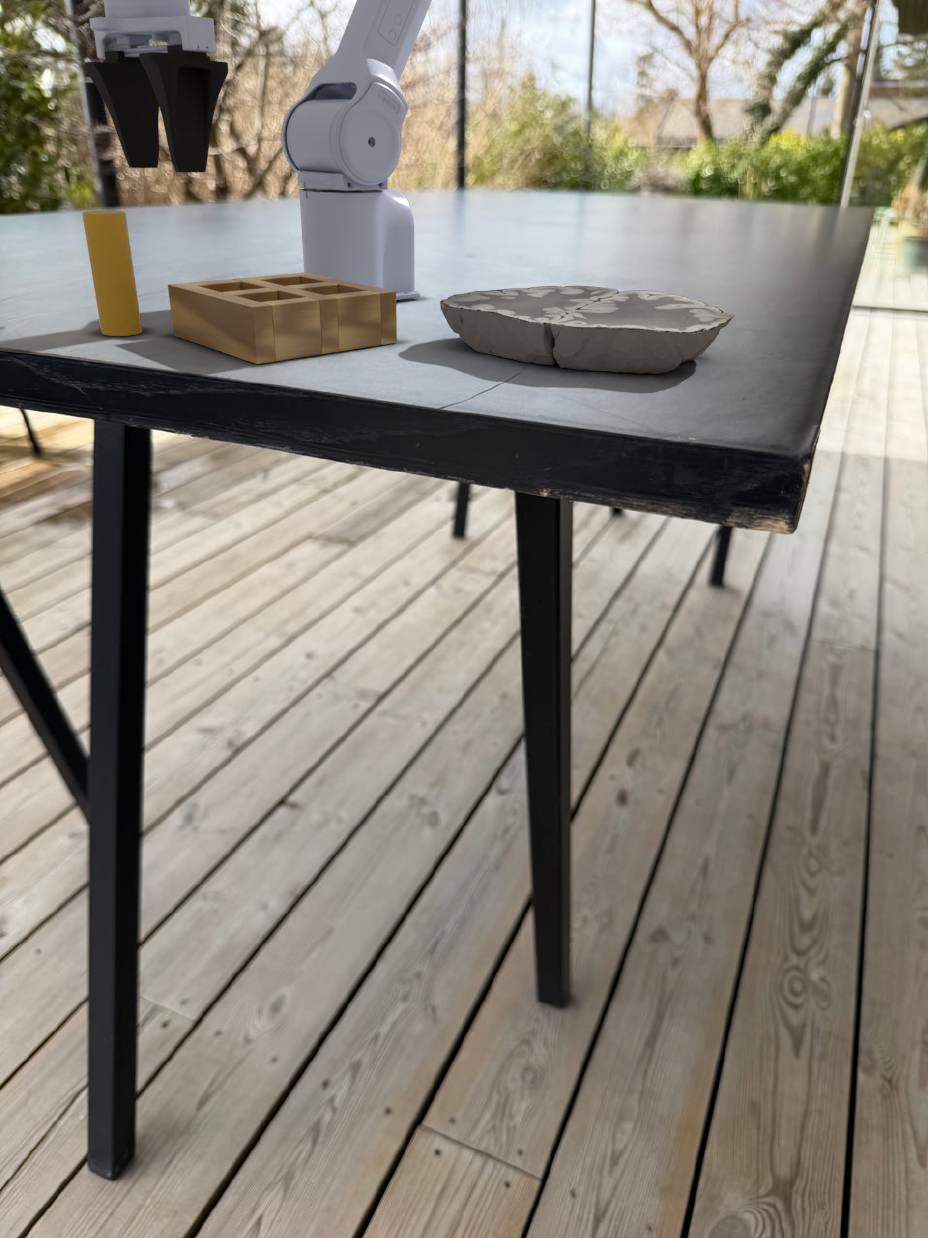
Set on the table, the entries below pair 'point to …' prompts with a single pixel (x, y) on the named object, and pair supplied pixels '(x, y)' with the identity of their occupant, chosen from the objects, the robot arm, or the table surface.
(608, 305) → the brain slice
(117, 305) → the yellow peg
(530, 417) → the table surface
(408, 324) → the table surface
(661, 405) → the table surface
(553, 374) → the table surface
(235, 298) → the stand
